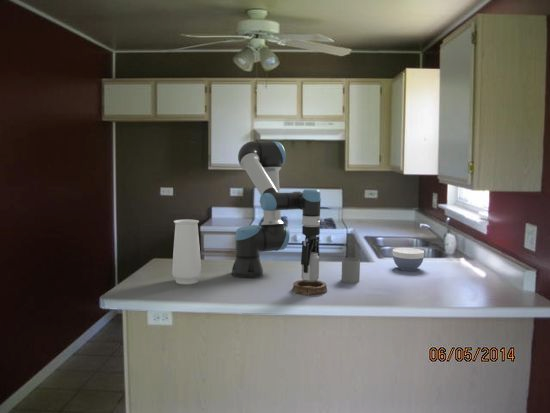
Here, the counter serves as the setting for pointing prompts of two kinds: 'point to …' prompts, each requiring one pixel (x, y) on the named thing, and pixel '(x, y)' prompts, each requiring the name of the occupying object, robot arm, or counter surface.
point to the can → (313, 267)
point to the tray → (309, 288)
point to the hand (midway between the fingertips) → (310, 277)
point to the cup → (350, 270)
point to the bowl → (408, 258)
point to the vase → (186, 252)
